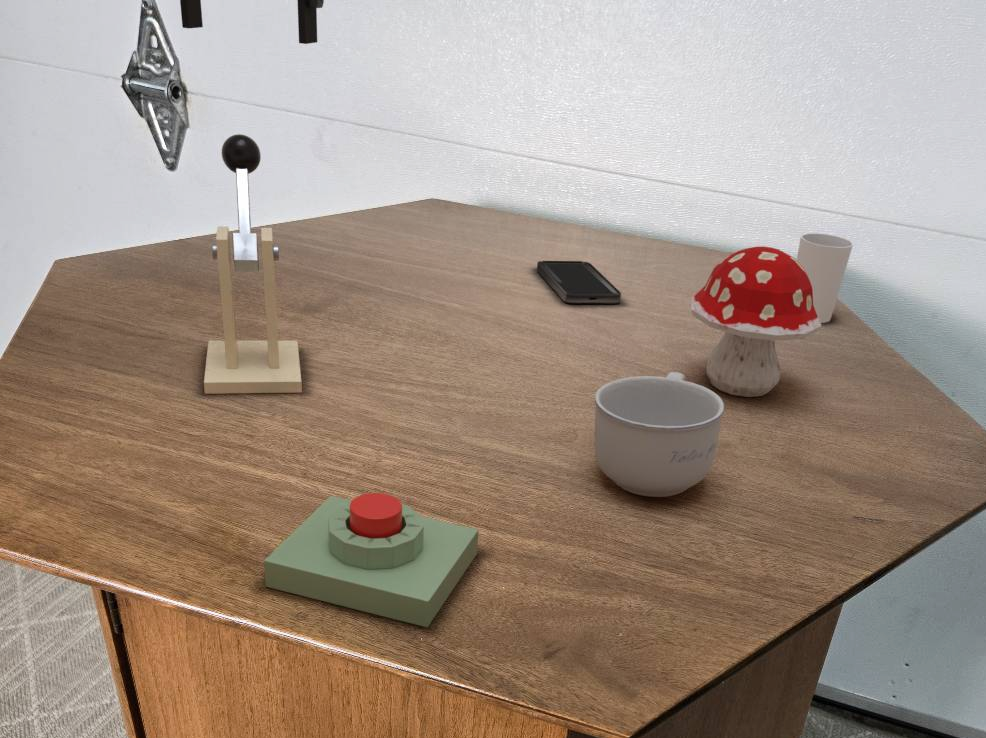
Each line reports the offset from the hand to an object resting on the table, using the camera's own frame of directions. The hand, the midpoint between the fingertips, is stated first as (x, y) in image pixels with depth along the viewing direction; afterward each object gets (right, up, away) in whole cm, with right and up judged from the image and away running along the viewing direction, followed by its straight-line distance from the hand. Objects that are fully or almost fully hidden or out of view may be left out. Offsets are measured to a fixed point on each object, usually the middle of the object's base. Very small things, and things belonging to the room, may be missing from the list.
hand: (249, 35), depth 105 cm
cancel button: (+19, -53, -36) cm, 67 cm away
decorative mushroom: (+53, -37, +3) cm, 65 cm away
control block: (+19, -56, -34) cm, 68 cm away
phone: (+36, -20, +28) cm, 50 cm away
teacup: (+41, -48, -17) cm, 65 cm away
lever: (+2, -22, -9) cm, 24 cm away
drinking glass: (+67, -24, +27) cm, 76 cm away
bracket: (+2, -37, -6) cm, 37 cm away
